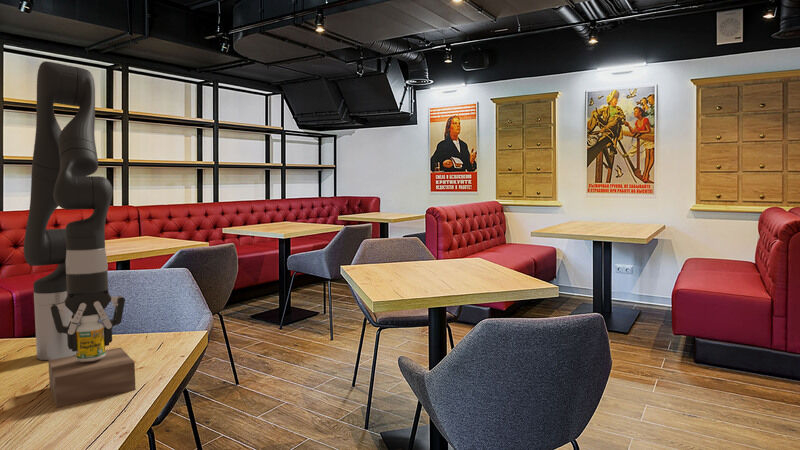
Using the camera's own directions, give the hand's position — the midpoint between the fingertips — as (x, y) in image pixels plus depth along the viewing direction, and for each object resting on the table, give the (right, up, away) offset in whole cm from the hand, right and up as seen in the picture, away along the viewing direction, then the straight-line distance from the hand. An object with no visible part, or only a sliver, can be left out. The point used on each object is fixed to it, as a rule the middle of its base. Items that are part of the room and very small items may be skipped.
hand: (90, 347), depth 108 cm
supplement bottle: (0, -3, 0) cm, 3 cm away
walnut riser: (0, -9, 0) cm, 9 cm away
